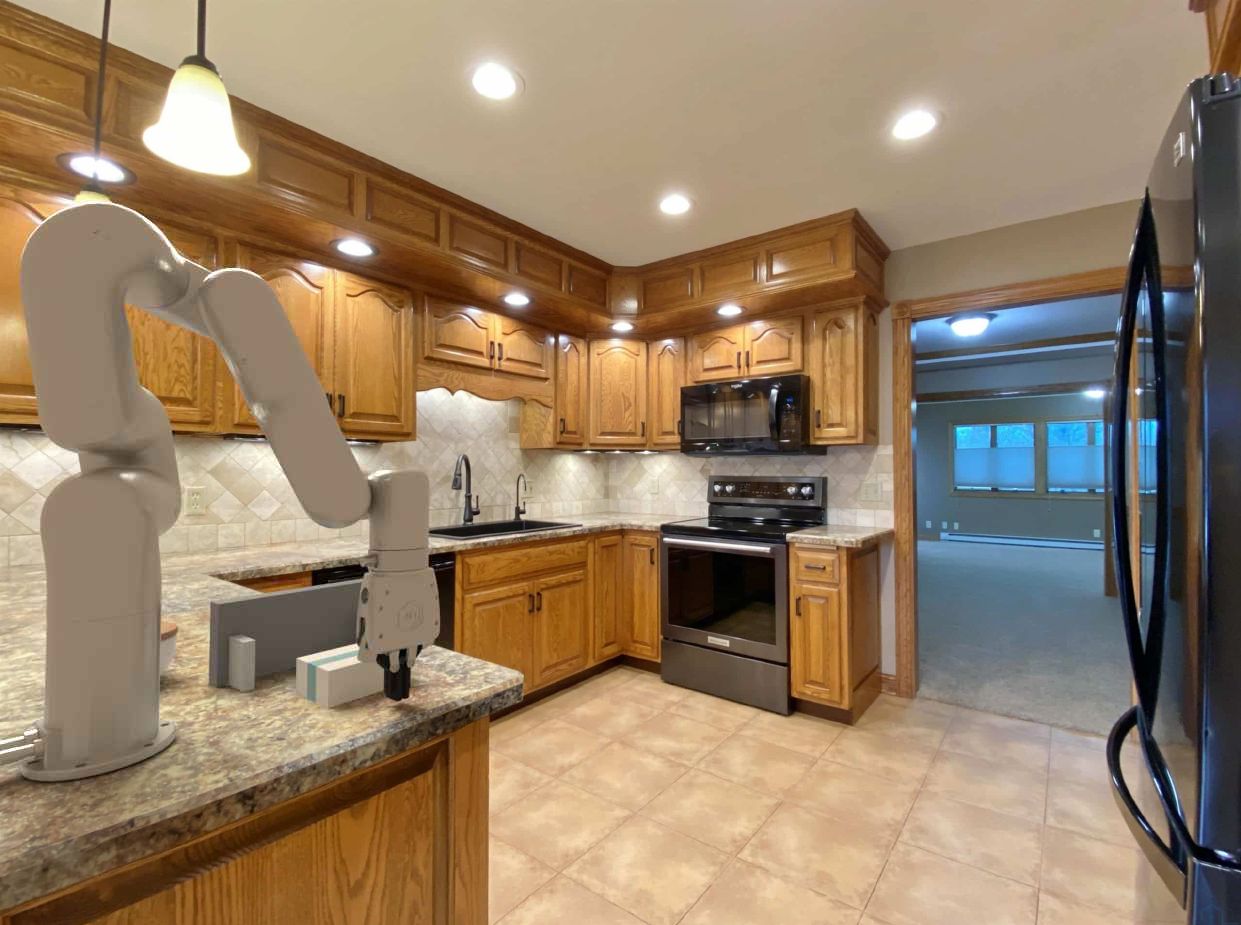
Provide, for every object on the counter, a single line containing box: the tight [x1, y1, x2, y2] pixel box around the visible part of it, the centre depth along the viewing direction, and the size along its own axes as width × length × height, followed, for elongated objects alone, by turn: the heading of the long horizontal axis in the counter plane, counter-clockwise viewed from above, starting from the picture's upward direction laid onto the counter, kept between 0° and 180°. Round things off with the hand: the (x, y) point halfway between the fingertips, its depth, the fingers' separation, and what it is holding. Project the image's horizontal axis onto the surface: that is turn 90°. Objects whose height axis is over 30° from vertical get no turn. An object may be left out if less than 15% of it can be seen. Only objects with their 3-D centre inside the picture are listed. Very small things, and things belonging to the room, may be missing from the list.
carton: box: [295, 644, 384, 709], centre depth 83 cm, size 12×9×5 cm
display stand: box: [208, 578, 363, 693], centre depth 92 cm, size 24×8×12 cm, turn 144°
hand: (397, 697), depth 77 cm, fingers closed
